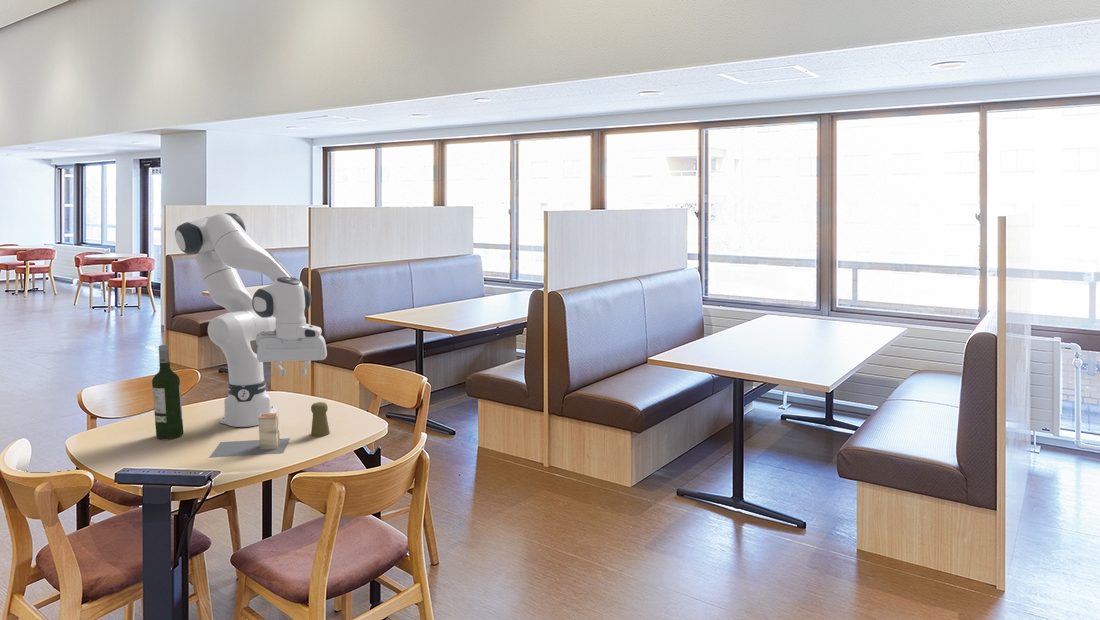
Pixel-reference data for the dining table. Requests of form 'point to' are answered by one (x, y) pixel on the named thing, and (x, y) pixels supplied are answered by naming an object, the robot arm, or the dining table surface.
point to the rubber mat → (246, 448)
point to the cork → (319, 420)
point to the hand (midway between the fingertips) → (293, 374)
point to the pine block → (269, 431)
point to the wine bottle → (167, 399)
